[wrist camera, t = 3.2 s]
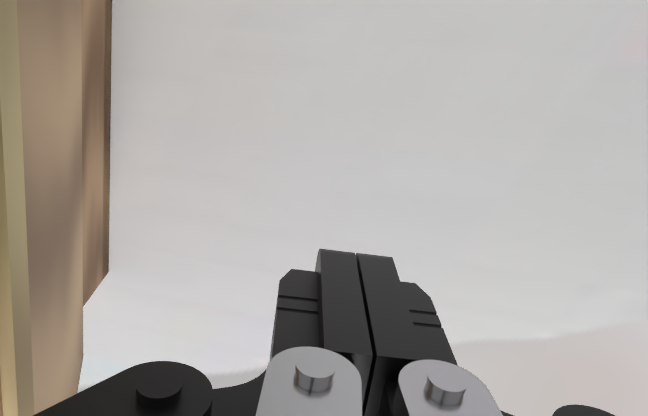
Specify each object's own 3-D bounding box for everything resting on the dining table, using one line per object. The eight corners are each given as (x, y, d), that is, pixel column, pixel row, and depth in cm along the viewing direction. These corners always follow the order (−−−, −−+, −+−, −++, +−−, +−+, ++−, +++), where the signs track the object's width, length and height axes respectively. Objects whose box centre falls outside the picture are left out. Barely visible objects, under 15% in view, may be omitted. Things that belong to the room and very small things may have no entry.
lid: (-177, -432, 5) (-38, -387, 5) (48, -152, 15) (88, -144, 16) (-30, 753, 10) (30, 738, 11) (60, 357, 21) (88, 356, 21)
